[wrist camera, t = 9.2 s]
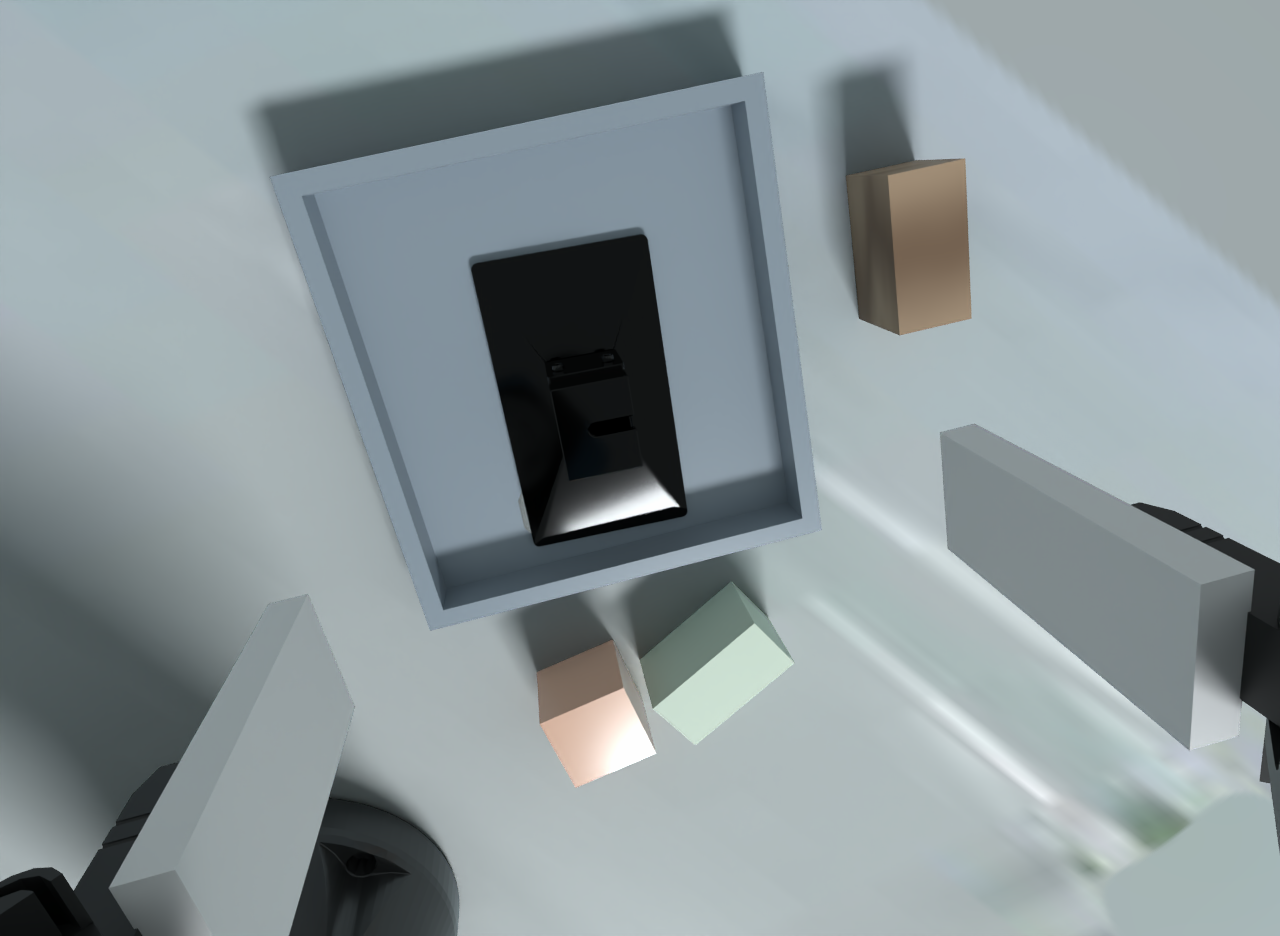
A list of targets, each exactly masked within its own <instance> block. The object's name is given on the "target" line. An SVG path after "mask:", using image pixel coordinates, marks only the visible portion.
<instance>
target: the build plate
mask: <svg viewBox="0 0 1280 936" xmlns="http://www.w3.org/2000/svg"><path fill="white" fill-rule="evenodd" d="M471 272H472V276H473V281H474V285H475V289H476V294H477V298H478V303H479V307H480V311H481V316H482V320H483V324H484V329H485V333H486V337H487V342H488V346H489V351H490V355H491V359H492V364H493V368H494V372H495V377H496V381H497V385H498V390H499V394H500V399H501V403H502V407H503V412H504V416H505V420H506V425H507V429H508V433H509V438H510V442H511V447H512V451H513V455H514V460H515V464H516V468H517V473H518V477H519V481H520V486H521V490H522V492H521V494H520V497H519V500H518V503H519V507H520V512H521V516H522V520H523V525H524V528H525V529H526V530H528V531H529V532H530V533H531V534H532V538H533V542H534V544H535V545H536V546H538V547H540V546H545V545H550V544H555V543H560V542H564V541H569V540H574V539H579V538H584V537H588V536H593V535H598V534H603V533H608V532H612V531H617V530H622V529H627V528H632V527H636V526H641V525H646V524H651V523H656V522H660V521H665V520H670V519H675V518H680V517H684V516H685V515H686V514H687V512H688V511H687V504H686V497H685V490H684V483H683V476H682V469H681V463H680V456H679V449H678V442H677V435H676V428H675V422H674V415H673V408H672V401H671V394H670V387H669V381H668V374H667V367H666V360H665V353H664V347H663V340H662V333H661V326H660V319H659V312H658V306H657V299H656V292H655V285H654V278H653V271H652V265H651V258H650V251H649V244H648V239H647V237H646V236H645V235H643V234H636V235H630V236H625V237H619V238H613V239H608V240H602V241H596V242H591V243H585V244H579V245H574V246H568V247H562V248H557V249H551V250H545V251H540V252H534V253H528V254H522V255H517V256H511V257H505V258H500V259H494V260H488V261H483V262H477V263H474V264H473V265H472V268H471Z"/></svg>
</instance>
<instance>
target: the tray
mask: <svg viewBox="0 0 1280 936" xmlns="http://www.w3.org/2000/svg"><path fill="white" fill-rule="evenodd" d="M270 179H271V182H272V184H273V187H274V190H275V193H276V196H277V198H278V201H279V204H280V207H281V210H282V213H283V215H284V218H285V221H286V224H287V227H288V230H289V232H290V235H291V238H292V241H293V244H294V247H295V249H296V252H297V255H298V258H299V261H300V264H301V266H302V269H303V272H304V275H305V278H306V281H307V283H308V286H309V289H310V292H311V295H312V298H313V300H314V303H315V306H316V309H317V312H318V315H319V317H320V320H321V323H322V326H323V329H324V332H325V334H326V337H327V340H328V343H329V346H330V349H331V351H332V354H333V357H334V360H335V363H336V366H337V368H338V371H339V374H340V377H341V380H342V383H343V385H344V388H345V391H346V394H347V397H348V400H349V402H350V405H351V408H352V411H353V414H354V417H355V419H356V422H357V425H358V428H359V431H360V433H361V436H362V439H363V442H364V445H365V448H366V450H367V453H368V456H369V459H370V462H371V465H372V467H373V470H374V473H375V476H376V479H377V482H378V484H379V487H380V490H381V493H382V496H383V499H384V501H385V504H386V507H387V510H388V513H389V516H390V518H391V521H392V524H393V527H394V530H395V533H396V535H397V538H398V541H399V544H400V547H401V550H402V552H403V555H404V558H405V561H406V564H407V567H408V569H409V572H410V575H411V578H412V581H413V584H414V586H415V589H416V592H417V595H418V598H419V601H420V603H421V606H422V609H423V612H424V615H425V618H426V620H427V623H428V626H429V629H430V631H431V630H435V629H439V628H443V627H447V626H451V625H455V624H459V623H462V622H466V621H470V620H474V619H478V618H482V617H486V616H490V615H494V614H497V613H501V612H505V611H509V610H513V609H517V608H521V607H525V606H529V605H533V604H536V603H540V602H544V601H548V600H552V599H556V598H560V597H564V596H568V595H571V594H575V593H579V592H583V591H587V590H591V589H595V588H599V587H603V586H606V585H610V584H614V583H618V582H622V581H626V580H630V579H634V578H638V577H642V576H645V575H649V574H653V573H657V572H661V571H665V570H669V569H673V568H677V567H680V566H684V565H688V564H692V563H696V562H700V561H704V560H708V559H712V558H715V557H719V556H723V555H727V554H731V553H735V552H739V551H743V550H747V549H751V548H754V547H758V546H762V545H766V544H770V543H774V542H778V541H782V540H786V539H789V538H793V537H797V536H801V535H805V534H809V533H813V532H817V531H821V530H822V527H821V519H820V512H819V504H818V496H817V488H816V480H815V473H814V465H813V457H812V449H811V441H810V434H809V426H808V418H807V410H806V402H805V395H804V387H803V379H802V371H801V363H800V356H799V348H798V340H797V332H796V324H795V317H794V309H793V301H792V293H791V285H790V278H789V270H788V262H787V254H786V246H785V239H784V231H783V223H782V215H781V207H780V200H779V192H778V184H777V176H776V168H775V161H774V153H773V145H772V137H771V129H770V122H769V114H768V106H767V98H766V90H765V83H764V75H763V72H761V73H756V74H751V75H746V76H742V77H737V78H732V79H728V80H723V81H718V82H713V83H709V84H704V85H699V86H695V87H690V88H685V89H680V90H676V91H671V92H666V93H662V94H657V95H652V96H647V97H643V98H638V99H633V100H629V101H624V102H619V103H614V104H610V105H605V106H600V107H596V108H591V109H586V110H581V111H577V112H572V113H567V114H563V115H558V116H553V117H548V118H544V119H539V120H534V121H530V122H525V123H520V124H515V125H511V126H506V127H501V128H497V129H492V130H487V131H482V132H478V133H473V134H468V135H463V136H459V137H454V138H449V139H445V140H440V141H435V142H430V143H426V144H421V145H416V146H412V147H407V148H402V149H397V150H393V151H388V152H383V153H379V154H374V155H369V156H364V157H360V158H355V159H350V160H346V161H341V162H336V163H331V164H327V165H322V166H317V167H313V168H308V169H303V170H298V171H294V172H289V173H284V174H280V175H275V176H270ZM636 234H643V235H645V236H646V237H647V239H648V244H649V251H650V258H651V265H652V271H653V278H654V285H655V292H656V299H657V306H658V312H659V319H660V326H661V333H662V340H663V347H664V353H665V360H666V367H667V374H668V381H669V387H670V394H671V401H672V408H673V415H674V422H675V428H676V435H677V442H678V449H679V456H680V463H681V469H682V476H683V483H684V490H685V497H686V504H687V511H688V512H687V514H686V515H685V516H684V517H680V518H675V519H670V520H665V521H660V522H656V523H651V524H646V525H641V526H636V527H632V528H627V529H622V530H617V531H612V532H608V533H603V534H598V535H593V536H588V537H584V538H579V539H574V540H569V541H564V542H560V543H555V544H550V545H545V546H540V547H538V546H536V545H535V544H534V542H533V538H532V534H531V533H530V532H529V531H528V530H526V529H525V528H524V525H523V520H522V516H521V512H520V507H519V503H518V500H519V497H520V494H521V492H522V490H521V486H520V481H519V477H518V473H517V468H516V464H515V460H514V455H513V451H512V447H511V442H510V438H509V433H508V429H507V425H506V420H505V416H504V412H503V407H502V403H501V399H500V394H499V390H498V385H497V381H496V377H495V372H494V368H493V364H492V359H491V355H490V351H489V346H488V342H487V337H486V333H485V329H484V324H483V320H482V316H481V311H480V307H479V303H478V298H477V294H476V289H475V285H474V281H473V276H472V272H471V268H472V265H473V264H474V263H477V262H483V261H488V260H494V259H500V258H505V257H511V256H517V255H522V254H528V253H534V252H540V251H545V250H551V249H557V248H562V247H568V246H574V245H579V244H585V243H591V242H596V241H602V240H608V239H613V238H619V237H625V236H630V235H636Z"/></svg>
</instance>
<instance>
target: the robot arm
mask: <svg viewBox="0 0 1280 936" xmlns="http://www.w3.org/2000/svg"><path fill="white" fill-rule="evenodd" d="M940 440H941V455H942V470H943V485H944V500H945V514H946V529H947V544H948V549H949V550H950V551H951V552H953V553H954V554H955V555H956V556H957V557H959V558H960V559H961V560H962V561H963V562H965V563H966V564H967V565H968V566H969V567H971V568H972V569H973V570H974V571H975V572H977V573H978V574H979V575H980V576H981V577H982V578H984V579H985V580H986V581H987V582H988V583H990V584H991V585H992V586H993V587H994V588H996V589H997V590H998V591H999V592H1000V593H1002V594H1003V595H1004V596H1005V597H1006V598H1008V599H1009V600H1010V601H1011V602H1012V603H1014V604H1015V605H1016V606H1017V607H1018V608H1020V609H1021V610H1022V611H1023V612H1024V613H1026V614H1027V615H1028V616H1029V617H1030V618H1032V619H1033V620H1034V621H1035V622H1036V623H1037V624H1039V625H1040V626H1041V627H1042V628H1043V629H1045V630H1046V631H1047V632H1048V633H1049V634H1051V635H1052V636H1053V637H1054V638H1055V639H1057V640H1058V641H1059V642H1060V643H1061V644H1063V645H1064V646H1065V647H1066V648H1067V649H1069V650H1070V651H1071V652H1072V653H1073V654H1075V655H1076V656H1077V657H1078V658H1079V659H1081V660H1082V661H1083V662H1084V663H1085V664H1087V665H1088V666H1089V667H1090V668H1091V669H1093V670H1094V671H1095V672H1096V673H1097V674H1098V675H1100V676H1101V677H1102V678H1103V679H1104V680H1106V681H1107V682H1108V683H1109V684H1110V685H1112V686H1113V687H1114V688H1115V689H1116V690H1118V691H1119V692H1120V693H1121V694H1122V695H1124V696H1125V697H1126V698H1127V699H1128V700H1130V701H1131V702H1132V703H1133V704H1134V705H1136V706H1137V707H1138V708H1139V709H1140V710H1142V711H1143V712H1144V713H1145V714H1146V715H1148V716H1149V717H1150V718H1151V719H1152V720H1153V721H1155V722H1156V723H1157V724H1158V725H1159V726H1161V727H1162V728H1163V729H1164V730H1165V731H1167V732H1168V733H1169V734H1170V735H1171V736H1173V737H1174V738H1175V739H1176V740H1177V741H1179V742H1180V743H1181V744H1182V745H1183V746H1185V747H1186V748H1187V749H1188V750H1189V751H1190V750H1194V749H1197V748H1200V747H1204V746H1207V745H1211V744H1214V743H1217V742H1221V741H1224V740H1228V739H1231V738H1234V737H1238V736H1239V728H1240V718H1241V708H1242V701H1244V702H1245V703H1247V704H1248V705H1249V706H1251V707H1252V708H1254V709H1255V710H1256V711H1258V712H1259V713H1261V714H1262V715H1263V716H1265V717H1266V718H1267V720H1266V729H1265V738H1264V747H1263V756H1262V765H1261V774H1260V781H1261V782H1266V783H1270V784H1271V792H1272V799H1273V807H1274V814H1275V821H1276V829H1277V836H1278V844H1279V850H1280V563H1278V562H1276V561H1274V560H1272V559H1270V558H1268V557H1266V556H1264V555H1262V554H1260V553H1258V552H1256V551H1254V550H1252V549H1250V548H1248V547H1246V546H1244V545H1242V544H1240V543H1238V542H1236V541H1234V540H1232V539H1230V538H1227V539H1224V537H1223V535H1222V534H1219V533H1217V532H1215V531H1213V530H1211V529H1209V528H1207V527H1204V528H1202V526H1201V524H1199V523H1197V522H1195V521H1193V520H1191V519H1189V518H1187V517H1185V516H1183V515H1181V514H1179V513H1177V512H1175V511H1172V510H1168V509H1164V508H1160V507H1156V506H1152V505H1148V504H1144V503H1136V504H1132V505H1130V504H1128V503H1126V502H1124V501H1122V500H1120V499H1118V498H1116V497H1114V496H1112V495H1110V494H1109V493H1107V492H1105V491H1103V490H1101V489H1099V488H1097V487H1095V486H1093V485H1091V484H1089V483H1087V482H1086V481H1084V480H1082V479H1080V478H1078V477H1076V476H1074V475H1072V474H1070V473H1068V472H1066V471H1064V470H1062V469H1061V468H1059V467H1057V466H1055V465H1053V464H1051V463H1049V462H1047V461H1045V460H1043V459H1041V458H1039V457H1038V456H1036V455H1034V454H1032V453H1030V452H1028V451H1026V450H1024V449H1022V448H1020V447H1018V446H1016V445H1015V444H1013V443H1011V442H1009V441H1007V440H1005V439H1003V438H1001V437H999V436H997V435H995V434H993V433H991V432H990V431H988V430H986V429H984V428H982V427H980V426H978V425H976V424H971V425H967V426H964V427H960V428H956V429H952V430H948V431H944V432H940ZM354 708H355V706H354V703H353V701H352V699H351V696H350V694H349V691H348V689H347V687H346V684H345V682H344V679H343V677H342V675H341V672H340V670H339V667H338V665H337V663H336V660H335V658H334V655H333V653H332V651H331V648H330V646H329V643H328V641H327V639H326V636H325V634H324V631H323V629H322V627H321V624H320V622H319V619H318V617H317V615H316V612H315V610H314V607H313V605H312V603H311V600H310V598H309V595H308V594H306V595H302V596H298V597H294V598H290V599H287V600H283V601H279V602H275V603H271V604H268V606H267V608H266V610H265V611H264V613H263V615H262V617H261V618H260V620H259V622H258V624H257V626H256V627H255V629H254V631H253V633H252V634H251V636H250V638H249V640H248V642H247V643H246V645H245V647H244V649H243V650H242V652H241V654H240V656H239V658H238V659H237V661H236V663H235V665H234V666H233V668H232V670H231V672H230V673H229V675H228V677H227V679H226V681H225V682H224V684H223V686H222V688H221V689H220V691H219V693H218V695H217V697H216V698H215V700H214V702H213V704H212V705H211V707H210V709H209V711H208V713H207V714H206V716H205V718H204V720H203V721H202V723H201V725H200V727H199V729H198V730H197V732H196V734H195V736H194V737H193V739H192V741H191V743H190V744H189V746H188V748H187V750H186V752H185V753H184V755H183V757H182V759H181V760H180V762H178V763H174V764H170V765H166V766H163V767H160V768H159V769H158V770H157V771H156V772H155V773H154V774H153V775H152V776H151V777H150V778H149V779H148V780H147V781H146V782H145V783H144V784H143V785H142V786H141V787H140V788H139V789H138V790H136V791H135V792H134V793H133V794H132V796H131V798H130V799H129V801H128V803H127V804H126V806H125V808H124V809H123V811H122V813H121V814H120V816H119V817H118V819H117V821H116V826H115V827H112V829H111V831H110V832H109V834H108V835H107V837H106V839H105V840H104V842H103V844H102V845H103V849H100V850H98V852H97V853H96V855H95V857H94V858H93V860H92V862H91V863H90V865H89V867H88V868H87V870H86V871H85V873H84V875H83V876H82V878H81V880H80V881H79V883H78V885H77V886H76V888H75V890H74V891H73V890H72V888H71V887H70V885H69V883H68V882H67V880H66V879H65V877H64V876H63V874H62V873H60V872H59V871H57V870H55V869H54V868H52V867H49V868H34V869H31V870H28V871H25V872H22V873H19V874H16V875H13V876H11V877H9V878H7V879H5V880H3V881H1V882H0V936H457V932H458V919H459V893H458V888H457V883H456V880H455V877H454V874H453V872H452V870H451V868H450V866H449V864H448V862H447V861H446V859H445V858H444V856H443V855H442V853H441V852H440V851H439V850H438V848H437V847H436V846H435V845H434V844H433V843H432V842H431V841H430V840H429V839H428V838H427V837H426V836H425V835H423V834H422V833H421V832H420V831H418V830H417V829H416V828H414V827H413V826H411V825H410V824H408V823H406V822H405V821H403V820H401V819H399V818H397V817H395V816H393V815H391V814H389V813H386V812H384V811H381V810H379V809H376V808H373V807H369V806H366V805H363V804H358V803H354V802H349V801H343V800H336V799H328V798H329V795H330V791H331V788H332V785H333V781H334V778H335V774H336V771H337V767H338V764H339V760H340V757H341V753H342V750H343V747H344V743H345V740H346V736H347V733H348V729H349V726H350V722H351V719H352V715H353V712H354Z"/></svg>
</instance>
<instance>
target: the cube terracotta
mask: <svg viewBox="0 0 1280 936" xmlns="http://www.w3.org/2000/svg"><path fill="white" fill-rule="evenodd" d="M537 682H538V701H539V719H540V725H541V727H542V729H543V731H544V732H545V734H546V736H547V738H548V740H549V741H550V743H551V745H552V747H553V748H554V750H555V752H556V754H557V756H558V757H559V759H560V761H561V763H562V764H563V766H564V768H565V770H566V772H567V773H568V775H569V777H570V779H571V780H572V782H573V784H574V786H575V788H577V787H579V786H582V785H584V784H586V783H589V782H591V781H593V780H595V779H598V778H600V777H602V776H605V775H607V774H609V773H612V772H614V771H616V770H619V769H621V768H623V767H626V766H628V765H630V764H633V763H635V762H637V761H640V760H642V759H644V758H646V757H649V756H651V755H653V754H656V751H655V747H654V743H653V739H652V735H651V731H650V727H649V723H648V719H647V715H646V711H645V707H644V704H643V700H642V698H641V696H640V694H639V692H638V690H637V688H636V686H635V684H634V682H633V680H632V678H631V676H630V673H629V671H628V669H627V667H626V665H625V663H624V661H623V659H622V657H621V655H620V653H619V651H618V649H617V647H616V645H615V643H614V641H613V639H612V640H610V641H608V642H606V643H603V644H601V645H599V646H596V647H594V648H592V649H589V650H587V651H585V652H582V653H580V654H578V655H575V656H573V657H571V658H568V659H566V660H564V661H561V662H559V663H557V664H554V665H552V666H550V667H548V668H545V669H543V670H541V671H538V672H537Z"/></svg>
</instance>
